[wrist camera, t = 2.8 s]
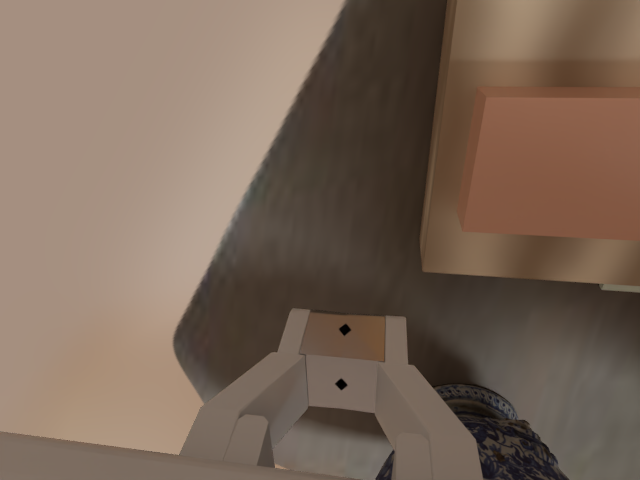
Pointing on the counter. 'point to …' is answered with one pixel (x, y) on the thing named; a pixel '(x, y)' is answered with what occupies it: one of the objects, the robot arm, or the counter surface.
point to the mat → (619, 287)
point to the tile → (553, 163)
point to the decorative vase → (495, 437)
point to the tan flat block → (522, 71)
